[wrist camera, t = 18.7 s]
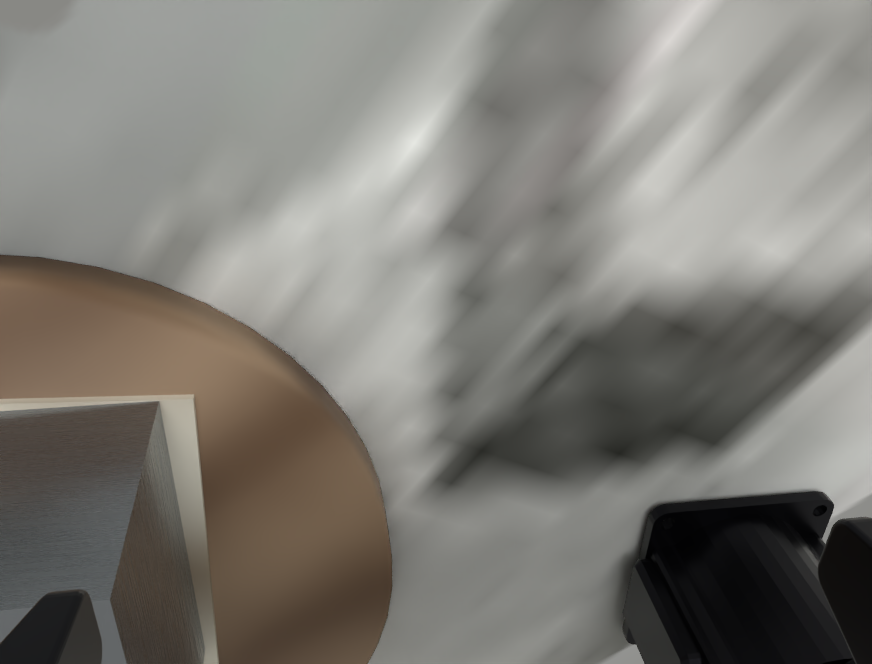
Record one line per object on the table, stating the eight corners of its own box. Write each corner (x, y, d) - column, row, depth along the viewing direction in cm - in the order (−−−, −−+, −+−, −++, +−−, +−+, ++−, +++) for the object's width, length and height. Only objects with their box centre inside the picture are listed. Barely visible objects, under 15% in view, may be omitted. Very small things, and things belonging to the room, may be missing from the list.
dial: (512, 535, 26) (569, 710, 21) (111, 825, 31) (72, 1029, 25) (-64, 71, 16) (-237, 173, 11) (-519, 594, 21) (-793, 842, 16)
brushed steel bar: (-39, 413, 18) (-172, 635, 13) (159, 400, 19) (107, 607, 14) (47, 666, 23) (-25, 904, 18) (205, 648, 24) (180, 873, 18)
